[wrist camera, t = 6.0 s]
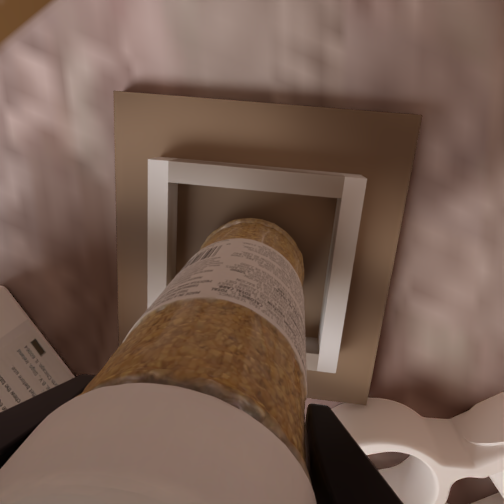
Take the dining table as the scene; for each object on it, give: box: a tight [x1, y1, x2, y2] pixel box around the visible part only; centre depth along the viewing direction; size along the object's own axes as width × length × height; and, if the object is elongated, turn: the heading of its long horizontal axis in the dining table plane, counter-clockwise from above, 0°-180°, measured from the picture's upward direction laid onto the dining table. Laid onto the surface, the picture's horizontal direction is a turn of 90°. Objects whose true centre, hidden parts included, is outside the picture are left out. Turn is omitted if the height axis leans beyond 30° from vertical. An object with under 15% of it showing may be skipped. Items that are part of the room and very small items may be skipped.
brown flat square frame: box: [114, 91, 422, 405], centre depth 17 cm, size 13×12×2 cm
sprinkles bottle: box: [0, 218, 317, 504], centre depth 11 cm, size 5×5×13 cm
